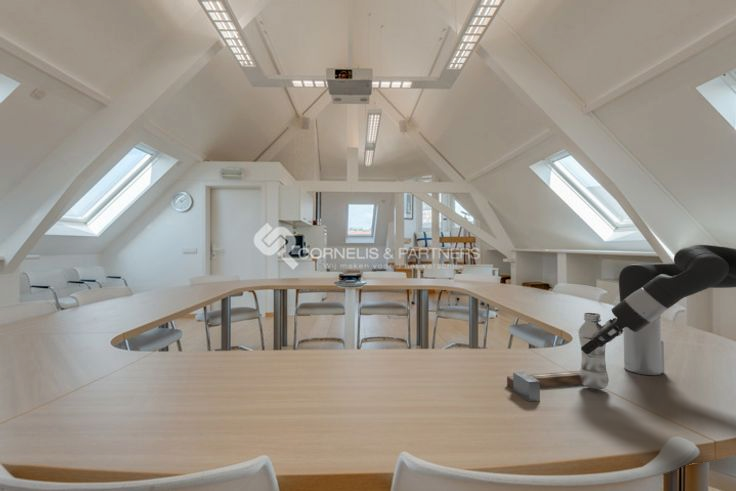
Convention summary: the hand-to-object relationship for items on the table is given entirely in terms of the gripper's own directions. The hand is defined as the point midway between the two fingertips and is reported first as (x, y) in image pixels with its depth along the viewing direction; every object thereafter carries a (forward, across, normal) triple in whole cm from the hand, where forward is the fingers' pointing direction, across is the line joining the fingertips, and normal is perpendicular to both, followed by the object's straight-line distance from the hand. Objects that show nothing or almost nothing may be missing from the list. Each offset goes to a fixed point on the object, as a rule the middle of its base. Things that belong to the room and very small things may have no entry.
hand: (585, 348), depth 97 cm
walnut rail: (+13, -1, -2) cm, 13 cm away
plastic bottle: (+6, 0, -9) cm, 11 cm away
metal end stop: (+16, -15, +1) cm, 22 cm away
